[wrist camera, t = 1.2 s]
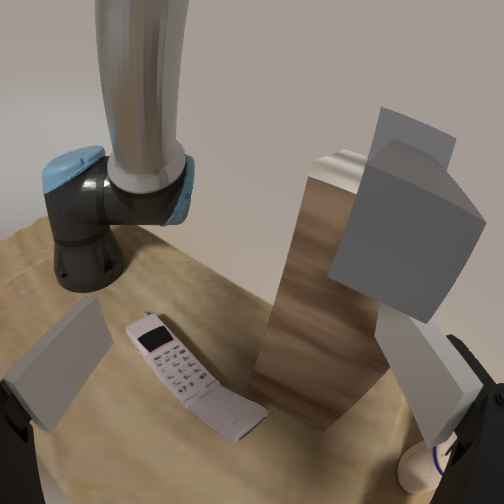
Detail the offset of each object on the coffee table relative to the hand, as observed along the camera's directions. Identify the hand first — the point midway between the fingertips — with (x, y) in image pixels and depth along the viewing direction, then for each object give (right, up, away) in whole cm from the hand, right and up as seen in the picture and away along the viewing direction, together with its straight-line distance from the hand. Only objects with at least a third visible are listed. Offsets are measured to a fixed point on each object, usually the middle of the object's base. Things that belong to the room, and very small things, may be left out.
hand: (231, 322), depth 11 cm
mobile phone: (-9, -14, +22) cm, 28 cm away
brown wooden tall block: (+8, -16, +24) cm, 30 cm away
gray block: (+9, +6, +3) cm, 12 cm away
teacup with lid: (+25, -27, +12) cm, 39 cm away
